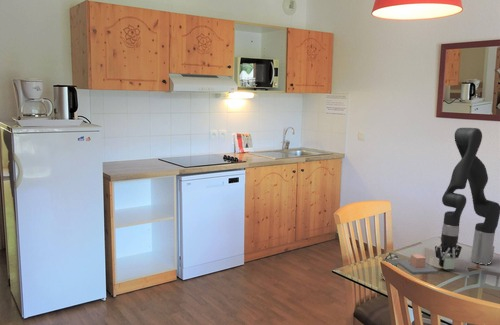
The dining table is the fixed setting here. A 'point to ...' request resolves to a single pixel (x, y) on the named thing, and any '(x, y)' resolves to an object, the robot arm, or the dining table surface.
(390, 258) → the food container
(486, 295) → the dining table surface
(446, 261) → the sage brick
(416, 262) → the terracotta brick
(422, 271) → the baseplate
